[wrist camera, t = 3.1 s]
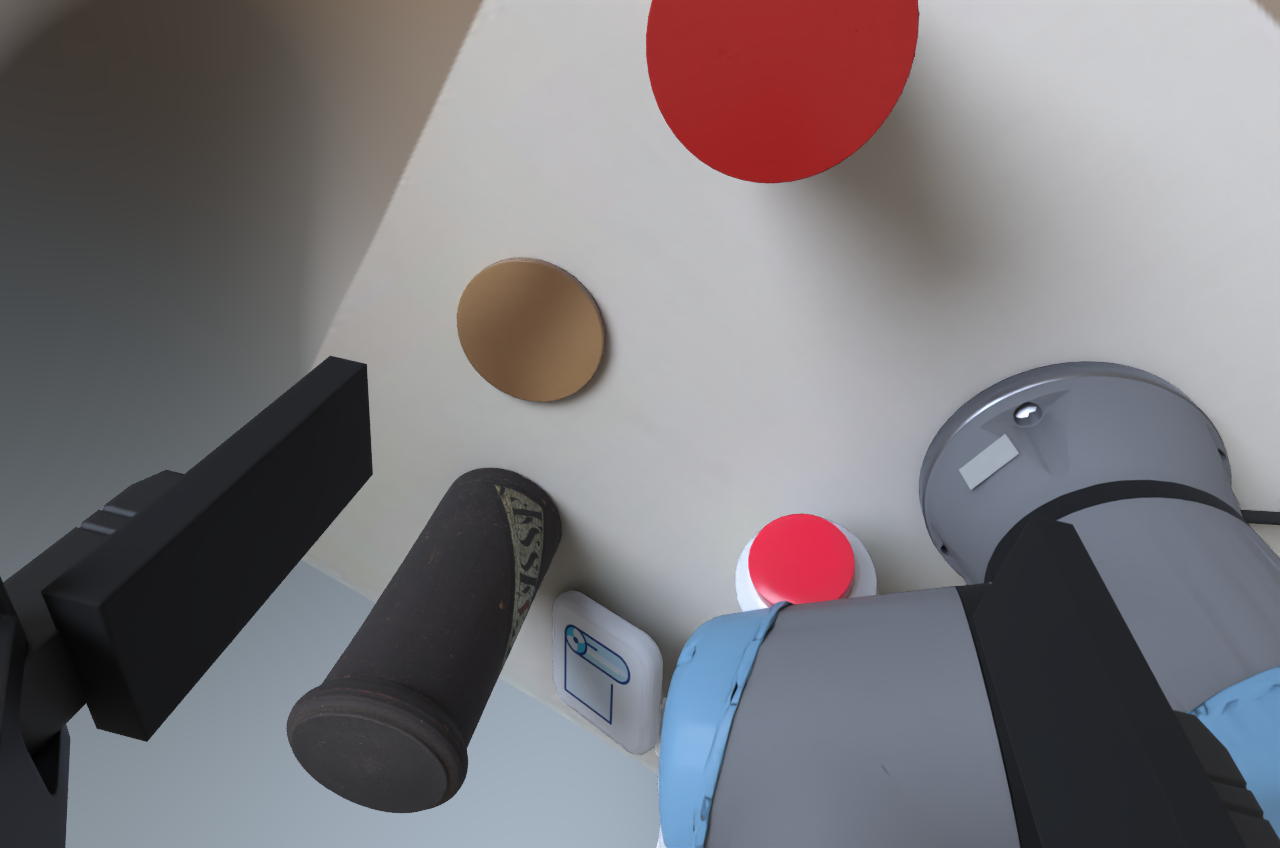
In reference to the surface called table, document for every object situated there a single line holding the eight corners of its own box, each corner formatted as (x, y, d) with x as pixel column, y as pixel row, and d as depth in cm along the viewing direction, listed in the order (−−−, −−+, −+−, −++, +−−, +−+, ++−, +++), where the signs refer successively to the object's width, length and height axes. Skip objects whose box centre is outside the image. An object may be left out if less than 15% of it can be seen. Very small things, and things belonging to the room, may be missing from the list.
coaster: (617, 278, 41) (614, 281, 40) (592, 412, 45) (590, 417, 45) (464, 240, 41) (460, 243, 41) (456, 377, 46) (452, 381, 45)
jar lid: (954, -82, 21) (968, -89, 19) (858, 197, 25) (863, 210, 23) (683, -139, 21) (674, -151, 19) (633, 144, 25) (623, 153, 24)
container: (544, 580, 53) (431, 852, 36) (431, 531, 53) (263, 784, 36) (583, 496, 49) (474, 762, 32) (459, 442, 48) (282, 684, 31)
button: (548, 588, 52) (652, 654, 46) (565, 578, 53) (668, 642, 47) (549, 695, 56) (644, 769, 50) (565, 684, 57) (660, 755, 51)
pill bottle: (783, 551, 50) (765, 475, 41) (894, 598, 46) (900, 526, 37) (733, 652, 47) (701, 594, 38) (847, 711, 43) (841, 661, 34)
